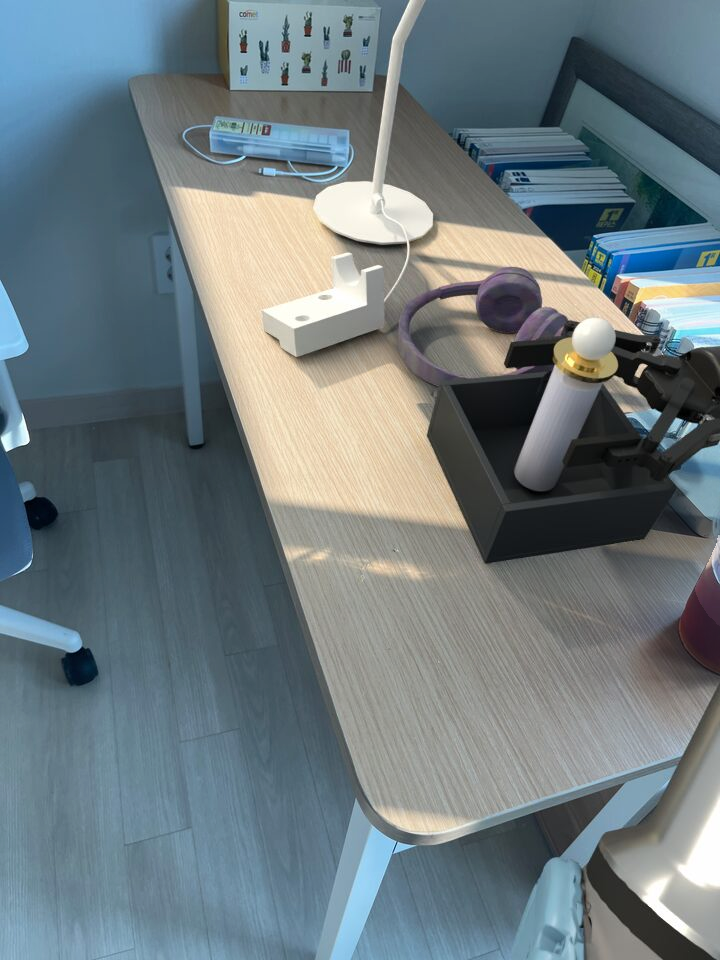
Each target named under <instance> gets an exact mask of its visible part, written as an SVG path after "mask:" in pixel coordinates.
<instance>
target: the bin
mask: <svg viewBox="0 0 720 960" xmlns="http://www.w3.org/2000/svg"><path fill="white" fill-rule="evenodd" d="M546 373H547V372H540V373H528V374H516V375H504V376H500V375H493V376H482V377H469V378H468V379H456V380H444V381H440V385H439V386H438V389H437V393H436V397H435V401H434V405H433V409H432V413H431V416H430V421H429V423H428V424H429V425H428V428H427V432H426V437H427V439H428V442H429V444H430V446H431V448H432V450H433V453H434V456H435V457H436V460H437V462H438V464H439V466H440V469H441V470H442V473H443V475H444V477H445V480H446V481H447V485H448V486H449V488H450V491H451V492H452V495H453V497H454V500H455V501H456V504H457V507H458V508H459V510H460V513H461V515H462V517H463V519H464V521H465V524H466V526H467V528H468V531H469V533H470V535H471V537H472V539H473V541H474V543H475V546H476V548H477V550H478V552H479V554H480V557H481V559H482V561H483V564H484V565H489V564H495V563H501V562H507V561H513V560H514V561H515V560H520V559H527V558H533V557H539V556H547V555H551V554H552V555H553V554H558V553H567V552H571V551H578V550H585V549H586V550H587V549H592V548H598V547H604V546H611V545H618V544H624V543H631V542H638V541H644V540H645V539H646V538H647V537H648V535H649V534H650V532H651V530H652V529H653V528H654V526H655V525H656V523H657V521H658V520H659V518H660V516H661V515H662V514H663V512H664V510H665V509H666V507H667V506H668V504H669V503H670V501H671V499H673V496H674V495H675V493H676V492H677V490H678V487H677V485H676V484H675V482H674V481H673V479H672V478H671V476H670V475H668V476H667V477H666V478H665V479H663V480H662V481H655V480H654V479H652V478H651V477H650V472H651V471H649V470H648V469H647V468H646V467H639V466H637V465H628V466H620V467H608V466H606V464H605V463H599V464H591V465H583V466H574V467H565V466H564V469H563V471H562V473H561V475H560V477H559V479H558V482H557V484H556V485H555V487H554V488H552V489H550V490H548V491H535V490H531V489H529V488H527V487H525V486H523V485H522V484H521V483H520V482H519V481H518V480H517V478H516V477H515V474H514V468H515V465H516V463H517V460H518V458H519V455H520V453H521V450H522V447H523V445H524V442H525V440H526V437H527V435H528V432H529V430H530V427H531V424H532V422H533V419H534V417H535V414H536V412H537V409H538V407H539V404H540V401H541V399H542V396H543V394H544V391H545V389H546V386H547V385H546V386H544V387H542V388H541V389H540V390H539V391H538V389H539V386H540V383H541V381H542V378H543V376H544V375H545V374H546ZM548 378H549V377H548ZM545 380H546V379H545ZM548 380H549V379H548ZM543 383H544V381H543ZM546 384H547V383H546ZM544 385H545V384H544ZM541 386H542V385H541ZM537 391H538V392H537ZM536 395H537V396H536ZM636 432H638V430H637V429H636V427H635V426H634V425H633V423H632V422H631V420H630V419H629V418H628V416H627V414H626V413H625V412H624V411H623V409H622V408H621V406H620V405H619V404H618V402H617V401H616V399H615V398H614V397H613V395H612V394H611V392H610V391H609V389H608V388H607V387H606V385H605V383H603V384H602V386H601V388H600V390H599V393H598V395H597V397H596V399H595V401H594V403H593V406H592V408H591V410H590V412H589V414H588V416H587V419H586V421H585V423H584V425H583V427H582V429H581V432H580V434H579V436H578V438H577V439H581V438H590V437H599V436H608V435H618V434H627V433H636ZM638 434H639V435H640V433H639V432H638ZM641 438H642V439H641V441H640V442H639V443H643V442H644V440H645V439H643V437H642V436H641Z"/></svg>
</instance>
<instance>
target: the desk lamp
mask: <svg viewBox="0 0 720 960" xmlns="http://www.w3.org/2000/svg"><path fill="white" fill-rule="evenodd" d="M426 1H427V0H409V1H408V2H407V6H406V8H405V10H404V12H403V14H402V17H401V19H400V21H399V23H398V25H397V27H396V30H395V32H394V34H393V36H392V41H391V47H390V48H391V49H390V55H389V61H388V69H387V74H386V75H387V76H386V83H385V90H384V96H383V97H384V98H383V105H382V113H381V119H380V127H379V134H378V139H377V148H376V149H377V150H376V154H375V155H376V156H375V162H374V169H373V177H372V181H369V180H367V181H364V180H363V181H344V182H341V183H337V184H333V185H329V186H326V188H324V189H323V190H322V191H320V192H319V193H318V194H316V196H315V199H314V203H313V206H312V209H313V211H314V213H315V215H316V217H317V219H318V221H319V222H320V223H321V224H323V225H324V226H326V227H327V228H328V229H329V230H330V231H332V232H333V233H335V234H338V235H340V236H343V237H346V238H348V239H350V240H354V241H356V242H361V243H368V244H374V245H382V246H383V245H399V244H403V245H404V244H406V245H407V247H406V248H407V253H406V260H405V263H404V265H403V268H402V269H401V270H402V271H401V272H400V274H399V276H398V277H397V280H396V281H395V284H393V286H392V288H391V290H390V291H389V292H388V293H387V295H386V296H385V297H384V304H385V303H386V302H387V301H388V300H389V298H390V296H391V295H392V294H393V292H394V291H395V289H396V288H397V286H398V285H399V283H400V281H401V279H402V277H403V275H404V273H405V271H406V269H407V267H408V263H409V261H410V254H411V246H410V242H412V241H416V240H418V239H421V238H424V237H425V236H426V235H427V234H428V233H429V232H430V230H432V229H433V225H434V213H433V211H432V210H431V209H430V207H429V206H428V205H427V202H425V201H424V200H422V199H420V198H419V197H417V196H416V195H414V194H413V193H412V192H410V191H407V190H404V189H402V188H399V187H396V186H394V185H391V184H386V183H385V176H386V171H387V163H388V157H389V152H390V150H389V149H390V143H391V138H392V130H393V125H394V119H395V110H396V105H397V104H396V103H397V98H398V97H397V96H398V92H399V91H398V90H399V85H400V84H399V83H400V77H401V70H402V65H403V58H404V50H405V44H406V42H407V39H408V38H409V36H410V34H411V31H412V29H413V27H414V26H415V23H416V21H417V19H418V17H419V16H420V13H421V11H422V9H423V7H424V5H425V2H426Z"/></svg>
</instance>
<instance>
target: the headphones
mask: <svg viewBox="0 0 720 960" xmlns="http://www.w3.org/2000/svg"><path fill="white" fill-rule="evenodd" d="M462 296H476V298H475V303H474V304H475V311H476V315H477V317H478V318H479V320H480V322H482V323H483V324H484V325H485V326H486V327H487V328H489V329H491V330H493V331H495V332H499V333H505V334H506V333H507V334H508V333H516V332H517V334H516V336H515V338H514V340H513V342H514V341H529V340H536V339H537V338H539V337H551V336H560V335H561V333H562V330H563V328H564V325H565V323H566V321H567V320H569V318H568V317H567V316H566V315H565V314H563V313H561V312H559V311H558V310H557V309H556V308H553V307H551V306H543V296H542V290H541V286H540V284H539V282H538V281H537V280H536V278H535V277H534V276H533V274H532V273H531V272H529V271H528V270H527V269H524V268H522V267H519V266H506V267H502V268H500V269H498V270H496V271H494V272H493V273H491V274H490V275H488V276H487V277H486V278H485V279H481V280H474V281H463V282H461V281H460V282H455V283H450V284H446V285H442V286H439V287H438V288H435V289H432V290H428V291H427V292H423V293H422V294H419V295H418V296H416V297H414V298H413V299H411V300H410V301H409V302H408V303H407V304H406V305H405V307H404V309H403V310H402V311H401V313H400V314H399V315H400V316H399V318H398V350H399V353H400V356H401V358H402V361H404V363H405V365H406V367H407V368H408V369H409V371H411V372H412V373H413V374H414V375H415V376H417V377H419V379H421V380H423V381H425V382H427V383H429V384H431V385H434V386H437V387H439V385H440V381H444V380H456V379H468V378H470V377H468V376H464V375H458V374H456V373H453V372H449V371H448V370H445V369H443V368H440V367H439V366H438V365H436V364H434V363H432V362H431V361H430V360H429V359H427V357H425V356H424V355H423V354H422V353H421V352H420V350H419V349H418V348H417V347H416V345H415V343H414V342H413V340H412V337H411V334H410V329H409V328H410V324H411V322H412V319H413V317H414V316H415V315H416V313H417V312H418V311H419V310H420V309H422V308H423V307H425V306H426V305H428V304H429V303H431V302H434V301H435V300H437V299H440V300H441V301H442V300H445V299H450V298H455V297H456V298H457V297H462ZM554 366H555V365H544V366H531V367H519V368H515V370H512V371H510V372H507V373H502V374H499V376H504V375H516V374H528V373H540V372H548V371H551V370H553V368H554Z"/></svg>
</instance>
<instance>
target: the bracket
mask: <svg viewBox="0 0 720 960" xmlns="http://www.w3.org/2000/svg"><path fill="white" fill-rule="evenodd" d="M330 264H331V281H332V288H329V289H327V290H322V291H321V292H320V291H319V292H317V293H314V294H310V295H307V296H304V297H300V298H297V299H294V300H291V301H287V302H284V303H281V304H278V305H275V306H271V307H268V308H263V309H261V316H262V317H261V318H262V326H263V331H265V332H266V333H268V334H269V335H271V336H272V337H274V338H276V340H278V341H279V347H280V348H281V349H282V350H283V351H285V352H287V353H289V354H290V355H292V356H294V357H295V358H299V357H302V356H304V355H308V354H310V353H312V352H316V351H318V350H321V349H324V348H327V347H330V346H334V345H336V344H338V343H342V342H344V341H347V340H350V339H353V338H356V337H358V336H362V335H365V334H368V333H371V332H373V331H376V330H379V329H382V328H384V327H385V303H384V299H385V282H384V281H385V279H384V278H385V277H384V276H385V275H384V266H382V265H380V264H376V265H374V266H370V267H367V268H363V269H361V270H360V273H359V272H358V270H357V268H356V265H355V262H354V256H353V253H351V252H349V251H348V252H344V253H340V254H337V255H334V256H331V257H330Z"/></svg>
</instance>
